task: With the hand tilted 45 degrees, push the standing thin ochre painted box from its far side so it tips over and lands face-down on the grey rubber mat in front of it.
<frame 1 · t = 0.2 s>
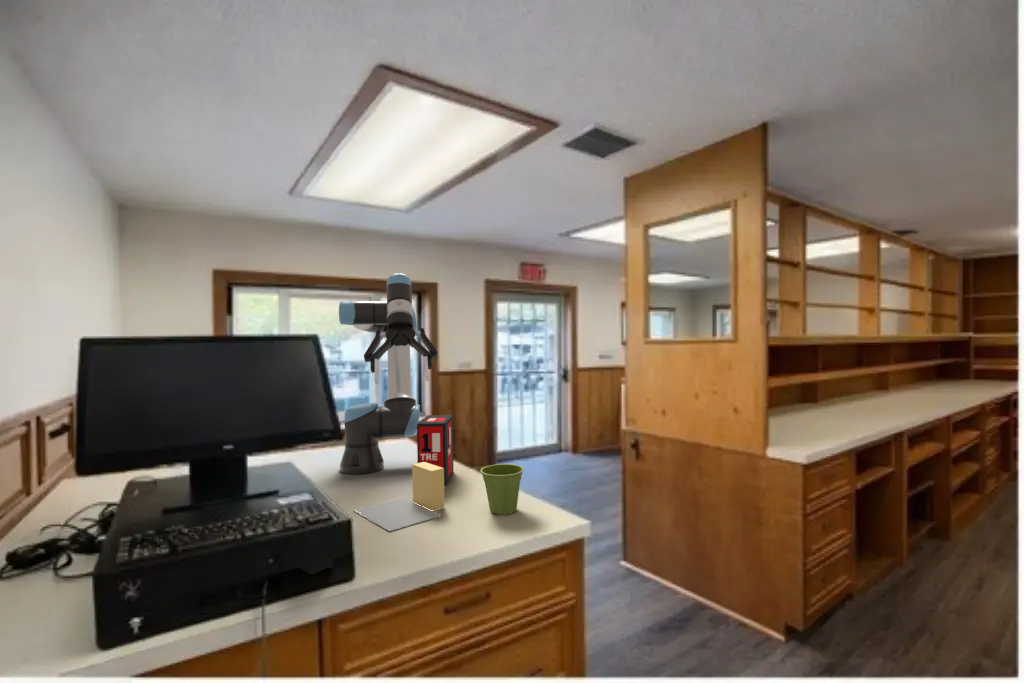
hand: (402, 380, 135), 35 cm above the counter, tool tilted 35°, fingers open, 13 cm apart
ochre box: (428, 505, 139), on the counter
mat: (396, 513, 132), on the counter
cleaning product box: (436, 479, 164), on the counter
plant pot: (502, 511, 134), on the counter
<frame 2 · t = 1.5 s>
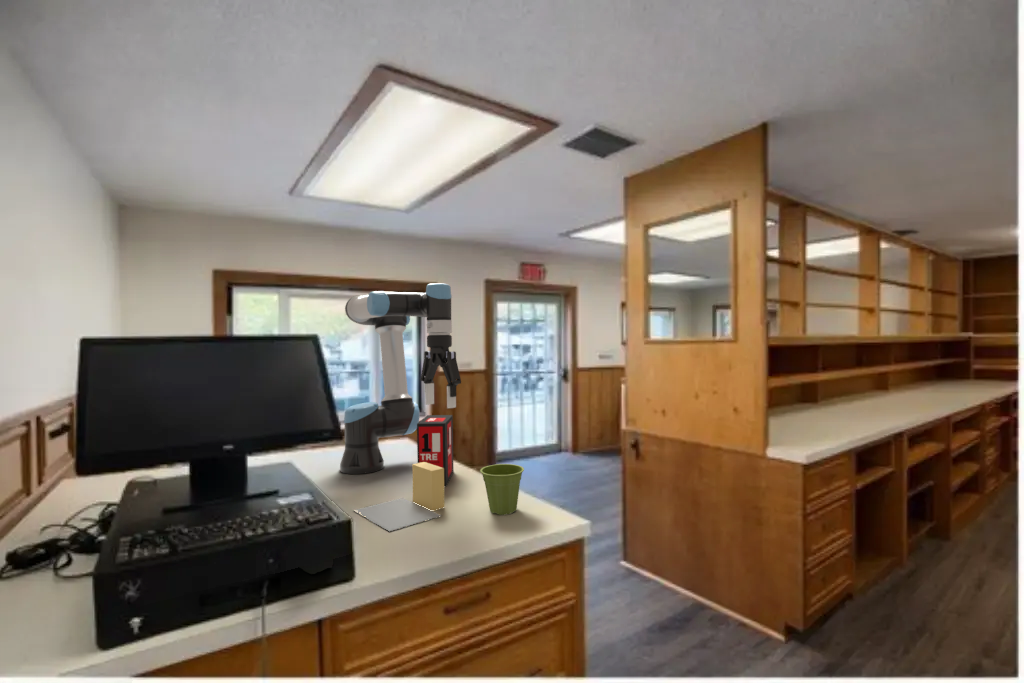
hand: (440, 406, 151), 26 cm above the counter, tool pointing down, fingers open, 11 cm apart
nothing on the counter moved.
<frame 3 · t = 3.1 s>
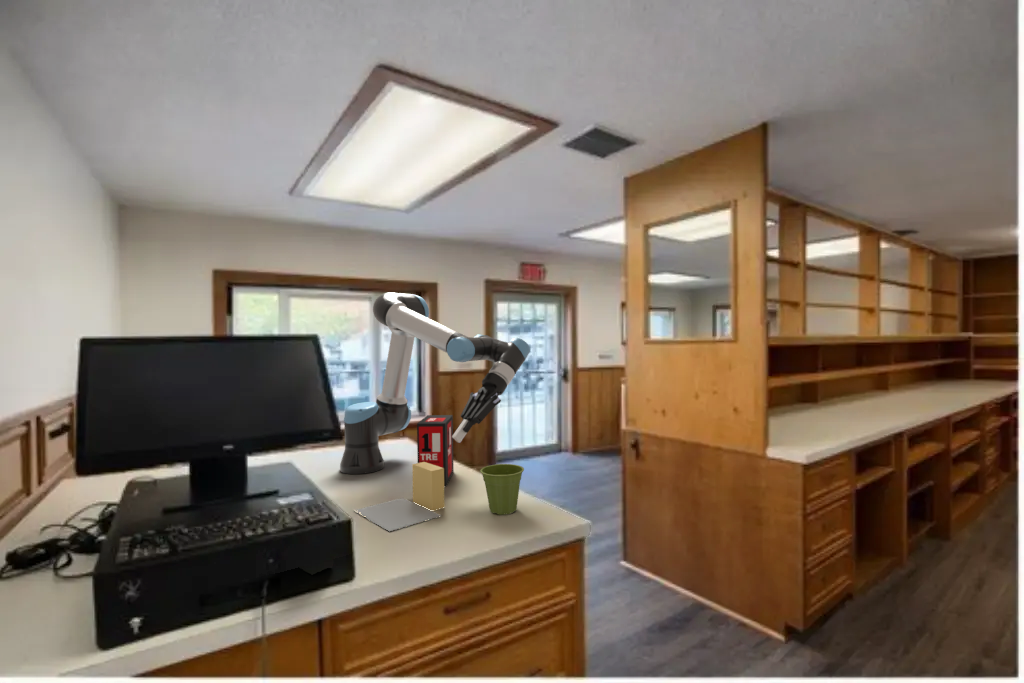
hand: (456, 439, 145), 17 cm above the counter, tool tilted 45°, fingers closed
nothing on the counter moved.
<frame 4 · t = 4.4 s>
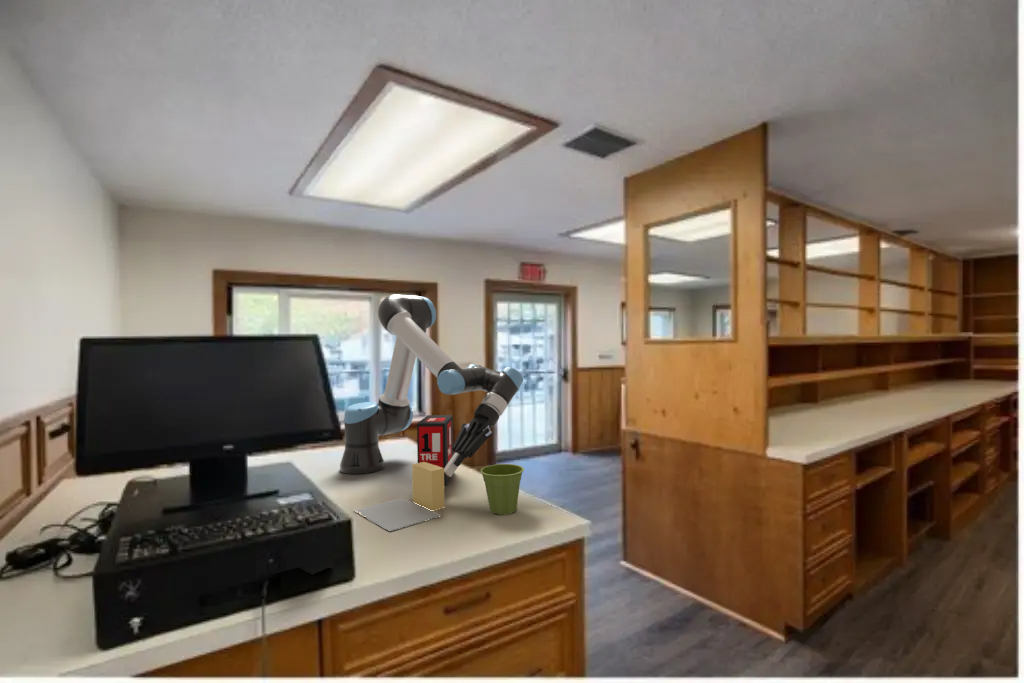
hand: (446, 473, 143), 8 cm above the counter, tool tilted 45°, fingers closed
nothing on the counter moved.
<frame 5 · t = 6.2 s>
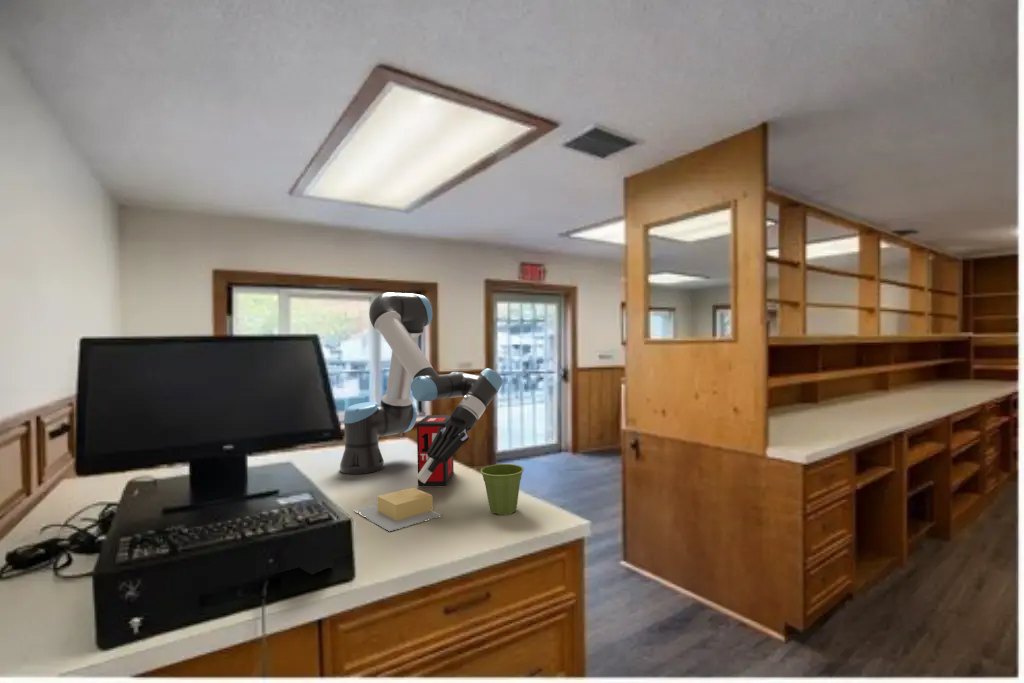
hand: (420, 480, 137), 8 cm above the counter, tool tilted 45°, fingers closed
ochre box: (422, 498, 138), point 2 cm above the counter, tilted 90°, touching mat
everything else where it was.
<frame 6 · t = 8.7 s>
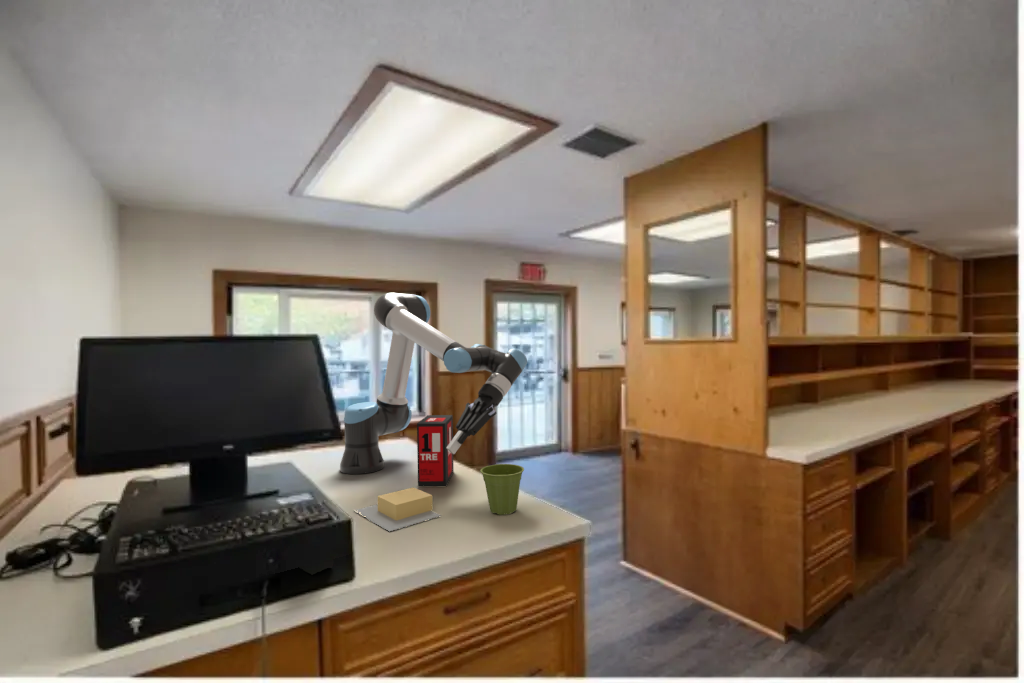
hand: (450, 451, 145), 14 cm above the counter, tool tilted 45°, fingers closed
nothing on the counter moved.
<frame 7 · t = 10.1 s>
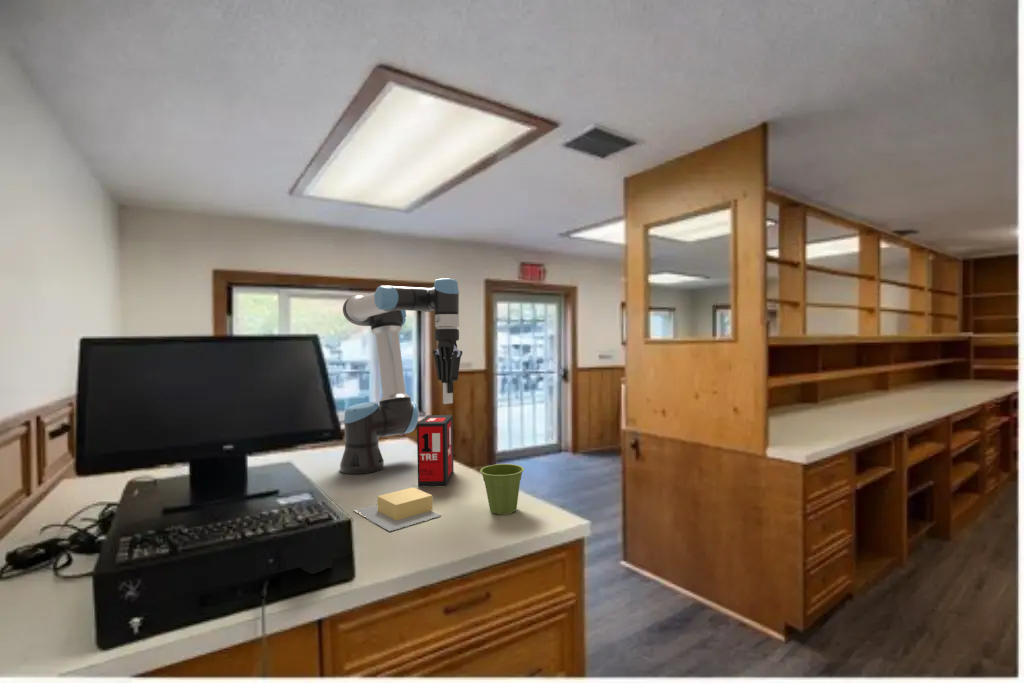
hand: (448, 403, 155), 26 cm above the counter, tool pointing down, fingers closed
nothing on the counter moved.
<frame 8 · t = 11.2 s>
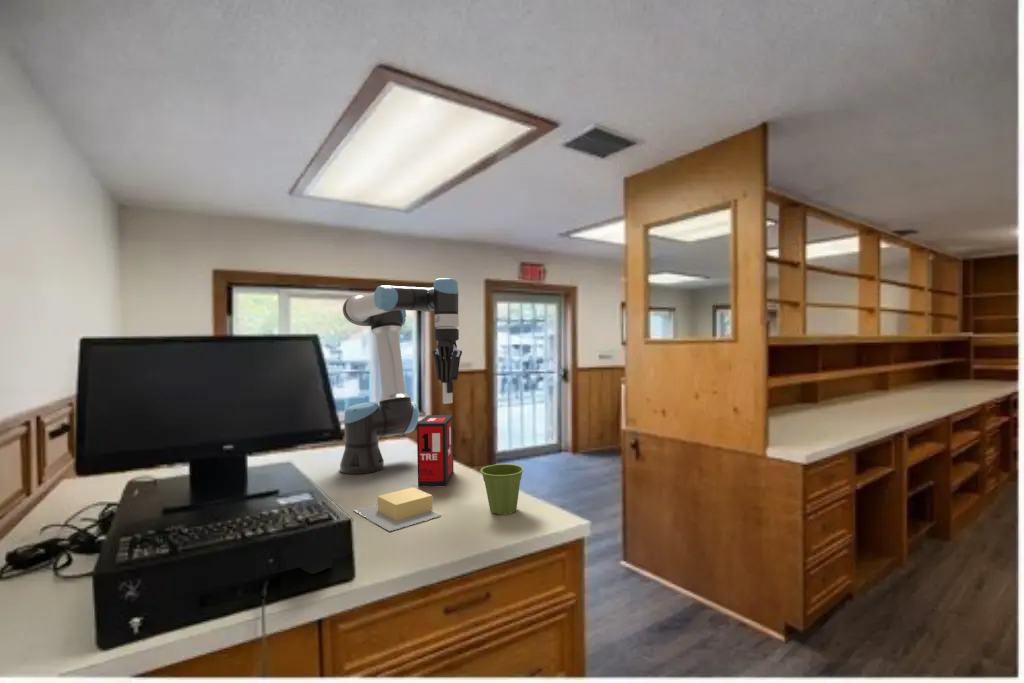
hand: (447, 403, 155), 26 cm above the counter, tool pointing down, fingers closed
nothing on the counter moved.
at the end: ochre box tilted 90°; ochre box touching mat; ochre box inside the target area (6.1 cm from its centre), point 2.3 cm above the counter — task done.
